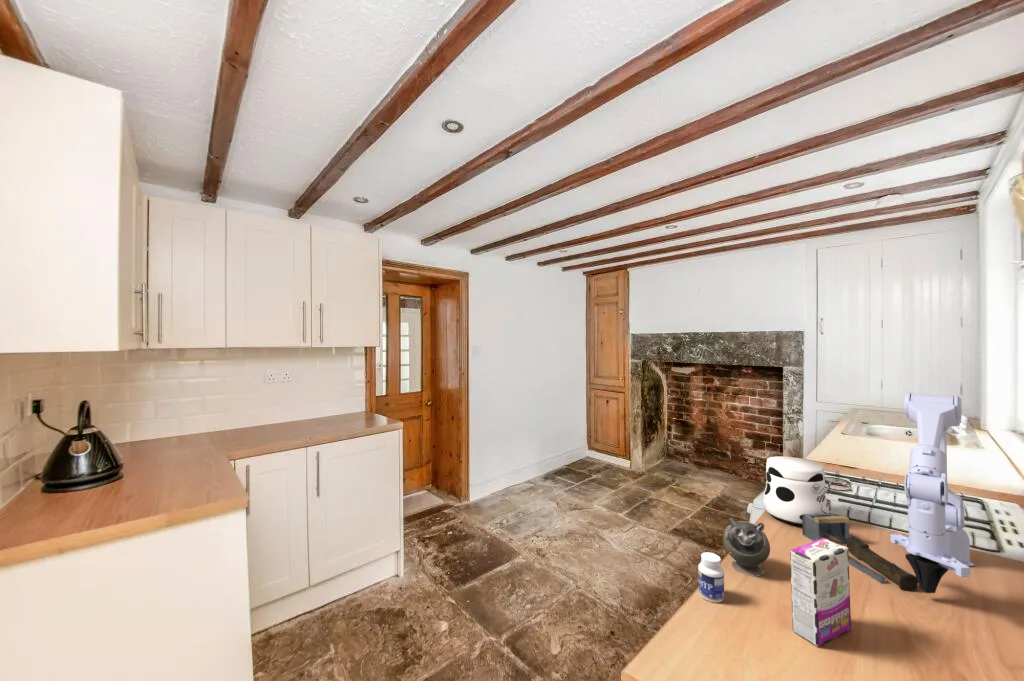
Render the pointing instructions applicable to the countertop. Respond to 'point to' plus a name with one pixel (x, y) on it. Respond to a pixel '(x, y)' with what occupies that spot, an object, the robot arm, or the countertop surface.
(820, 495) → the white spotted cookie jar
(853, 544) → the dark brown log
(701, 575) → the pill bottle
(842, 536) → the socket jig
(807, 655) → the countertop surface
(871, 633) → the countertop surface
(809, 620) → the candy bar box
